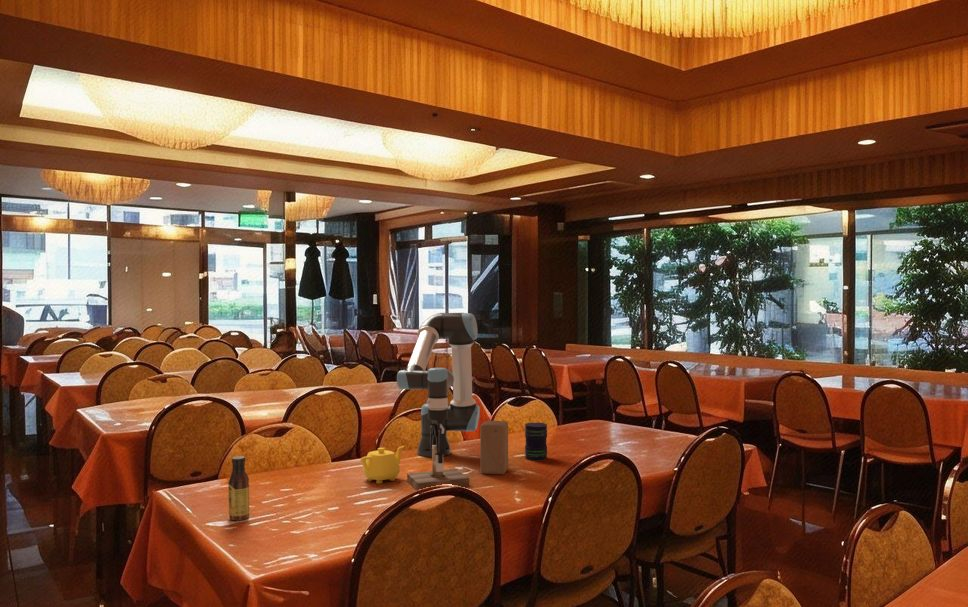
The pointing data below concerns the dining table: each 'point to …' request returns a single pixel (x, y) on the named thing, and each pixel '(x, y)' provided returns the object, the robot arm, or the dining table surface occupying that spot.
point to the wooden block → (494, 447)
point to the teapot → (381, 465)
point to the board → (437, 479)
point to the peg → (434, 473)
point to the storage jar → (536, 441)
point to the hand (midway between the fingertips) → (437, 469)
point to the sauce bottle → (238, 490)
